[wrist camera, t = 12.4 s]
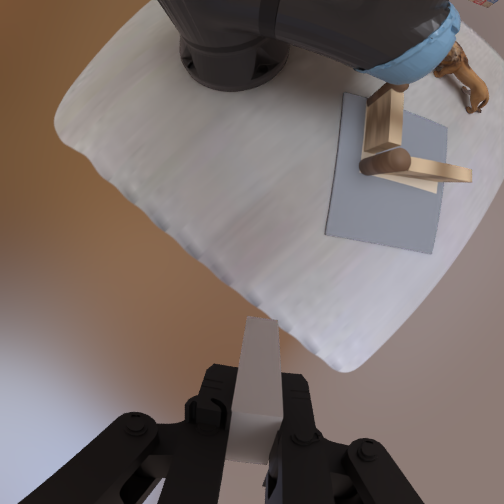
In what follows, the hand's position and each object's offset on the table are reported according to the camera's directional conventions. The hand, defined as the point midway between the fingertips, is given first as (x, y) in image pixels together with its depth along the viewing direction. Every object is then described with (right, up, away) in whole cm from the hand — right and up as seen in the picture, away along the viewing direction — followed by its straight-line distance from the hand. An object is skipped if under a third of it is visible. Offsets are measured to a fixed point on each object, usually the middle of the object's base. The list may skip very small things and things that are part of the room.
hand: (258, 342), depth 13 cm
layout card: (+19, +15, +21) cm, 32 cm away
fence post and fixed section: (+16, +20, +20) cm, 32 cm away
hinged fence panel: (+22, +16, +19) cm, 33 cm away
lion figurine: (+32, +32, +17) cm, 48 cm away
